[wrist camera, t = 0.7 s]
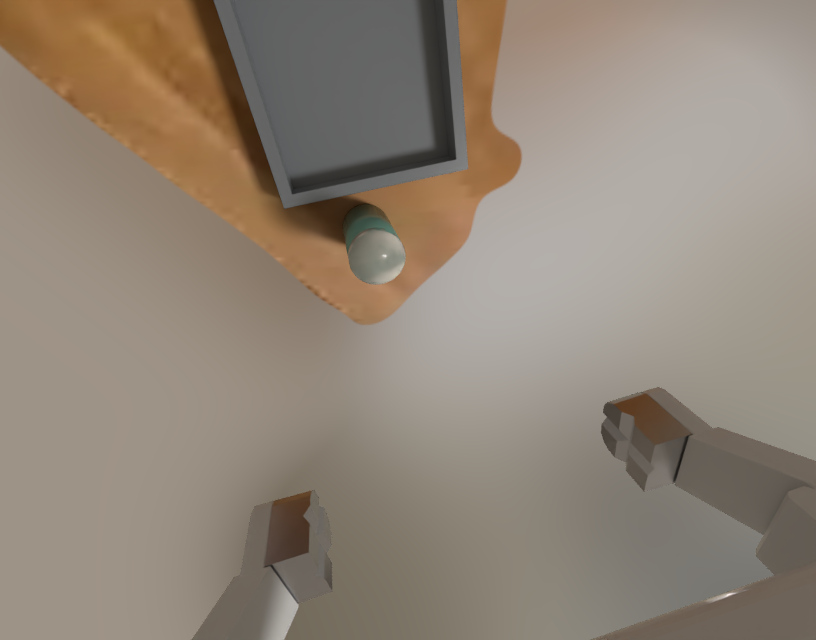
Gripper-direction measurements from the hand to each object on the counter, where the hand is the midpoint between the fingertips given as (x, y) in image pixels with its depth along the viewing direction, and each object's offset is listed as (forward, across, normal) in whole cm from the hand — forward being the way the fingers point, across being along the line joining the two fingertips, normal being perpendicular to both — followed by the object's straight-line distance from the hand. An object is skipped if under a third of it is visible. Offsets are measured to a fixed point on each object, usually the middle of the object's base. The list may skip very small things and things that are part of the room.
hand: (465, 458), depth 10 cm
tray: (+38, -2, -11) cm, 39 cm away
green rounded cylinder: (+38, 0, +4) cm, 39 cm away
